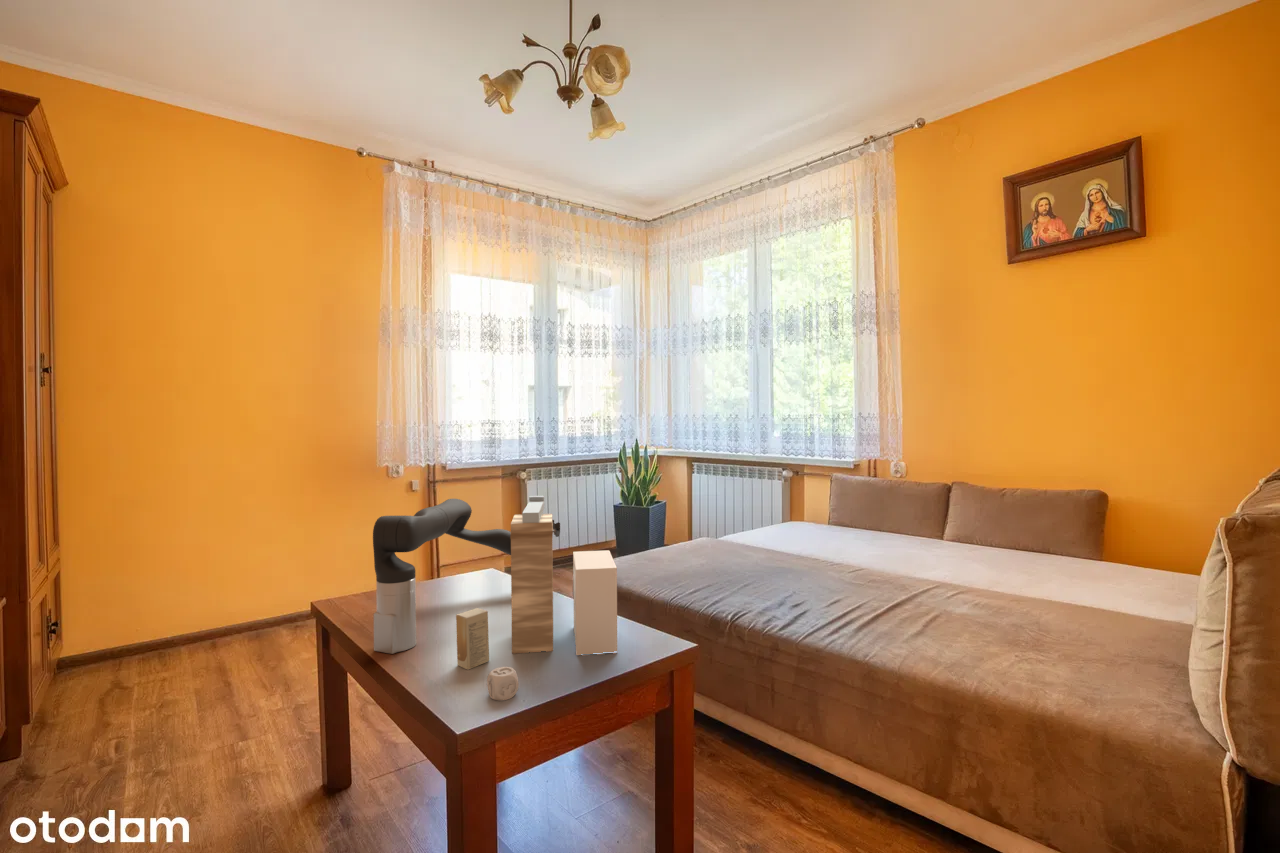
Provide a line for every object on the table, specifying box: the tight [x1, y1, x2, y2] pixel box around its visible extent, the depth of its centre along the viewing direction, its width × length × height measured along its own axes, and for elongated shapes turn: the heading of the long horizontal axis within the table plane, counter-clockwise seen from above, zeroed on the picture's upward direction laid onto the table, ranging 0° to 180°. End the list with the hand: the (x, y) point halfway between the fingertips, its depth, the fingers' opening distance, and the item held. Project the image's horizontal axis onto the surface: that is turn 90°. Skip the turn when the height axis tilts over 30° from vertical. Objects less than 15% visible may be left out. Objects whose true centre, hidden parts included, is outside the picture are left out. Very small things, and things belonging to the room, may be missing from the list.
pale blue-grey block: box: [521, 495, 545, 523], centre depth 158 cm, size 24×4×4 cm, turn 6°
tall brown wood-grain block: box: [510, 513, 554, 654], centre depth 153 cm, size 14×10×32 cm
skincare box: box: [455, 607, 490, 670], centre depth 140 cm, size 6×4×12 cm
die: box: [486, 666, 520, 702], centre depth 124 cm, size 5×5×5 cm
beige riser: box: [572, 549, 618, 655], centre depth 155 cm, size 20×10×21 cm, turn 8°
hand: (535, 521), depth 175 cm, fingers open, 8 cm apart
